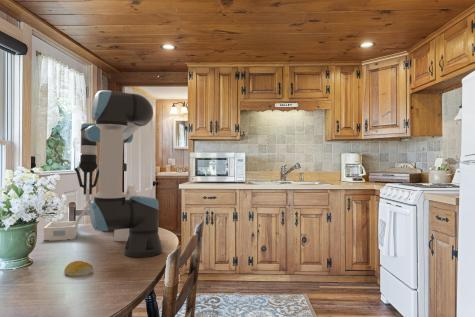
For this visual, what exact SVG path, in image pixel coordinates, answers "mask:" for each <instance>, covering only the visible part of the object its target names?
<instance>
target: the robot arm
mask: <svg viewBox="0 0 475 317" xmlns="http://www.w3.org/2000/svg"><path fill="white" fill-rule="evenodd" d="M153 116H154V109H153V105H152V103H151V102H150V100H148V99H147V98H146V96H145V97H144V96H142V95H140V94H137V93H130V92H122V91H115V90H99V91H97V93H96V94H95V95H94V98H93V101H92V106H91V120H93V121H95V123H91V122H85V123H84V122H83V123H81V125H80V127H81V128H80V153H81V154H80V155H79V156H80V159H79V160H80V163H79V165H78V166H76V167H74V172H75V173H76V176H77V180H78V184H79V187H80V188H83V195H84V196H85V202H89V201H90V195H92V194H93V188H95V187H96V186H97V182H98V192H96V193H95V194H94V196H93V199H94V200H93V201H91V202H90V203H89V208H88V212H89V218H90V223H91V226H92V227H93V229H94V230H95V231H97V232H109V231H108V230H118V229H129V236H128V239H127V241H125V242H126V243H125V246H124V248H123V249H124V251H123V254H124V256H126V257H127V256H128V257H131V258H147V257H149V258H150V257H154V256H155V257H156V256H159V255H161V254H163V245H162V241H161V238H160V236H159V220H160V219H159V218H160V216H159V211H160V208H159V207H160V205H159V204H160V203H159V200H158V199H157V198H155V197H152V196H150V197H149V196H142V195H140V196H130V198H129V199H128V200H126V195H125V194H124V192H123V158H124V156H123V155H124V144H130V143H131V142H132V141H133V138H134V133H135V132H137V130H138V129H140V128H141V127H144V126H147V125H148V124H149V123H150V122H151V121H152V120H153ZM98 142H99V155H98V156H99V158H98V157H97V150H98V148H97V147H98V146H97V144H98ZM97 158H98V160H99V164H97V163H98V162H97ZM98 165H99V166H98ZM80 170H81V171H82V172H83V180H82V176H81V173H80V172H81V171H80ZM95 170H96V173H95V174H96V175H95V178H94V181H93V172H95ZM88 173H89V175H88ZM88 176H89V180H88ZM88 181H89V183H88ZM87 184H88V185H87Z"/></svg>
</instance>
